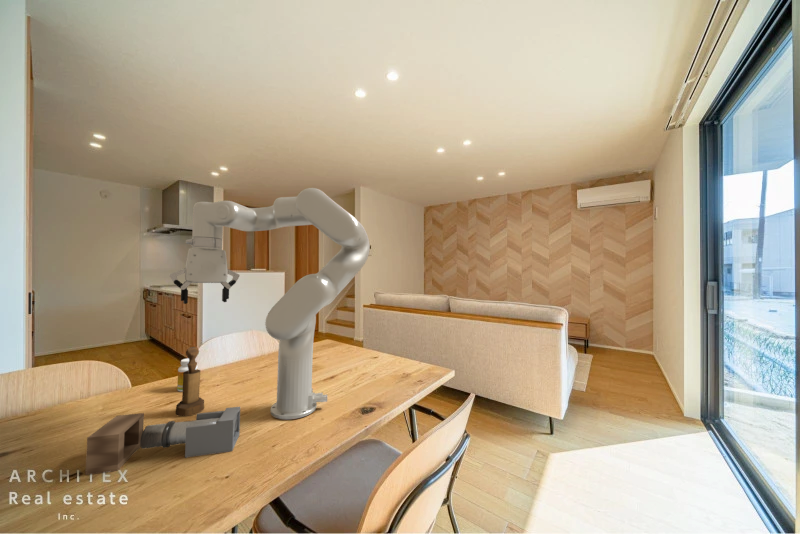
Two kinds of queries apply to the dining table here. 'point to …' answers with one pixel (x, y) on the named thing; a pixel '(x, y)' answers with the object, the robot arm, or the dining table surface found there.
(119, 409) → the dining table surface
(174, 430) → the slip tube
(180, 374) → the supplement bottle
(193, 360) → the brown wooden upright piece
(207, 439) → the sleeve
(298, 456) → the dining table surface
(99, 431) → the socket block
